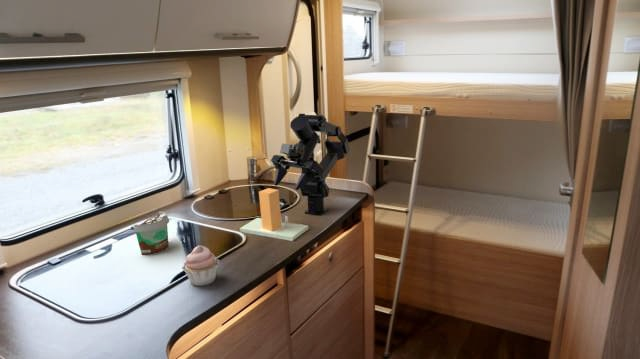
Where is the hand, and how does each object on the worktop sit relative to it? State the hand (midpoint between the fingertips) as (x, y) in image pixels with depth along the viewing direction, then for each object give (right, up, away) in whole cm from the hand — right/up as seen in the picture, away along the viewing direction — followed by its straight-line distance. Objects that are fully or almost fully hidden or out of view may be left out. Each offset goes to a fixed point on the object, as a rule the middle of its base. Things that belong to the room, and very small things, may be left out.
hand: (285, 187), depth 146 cm
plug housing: (-4, -13, 0) cm, 14 cm away
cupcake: (-19, -24, -29) cm, 42 cm away
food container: (-37, -19, -8) cm, 43 cm away
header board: (-4, -14, +1) cm, 15 cm away
